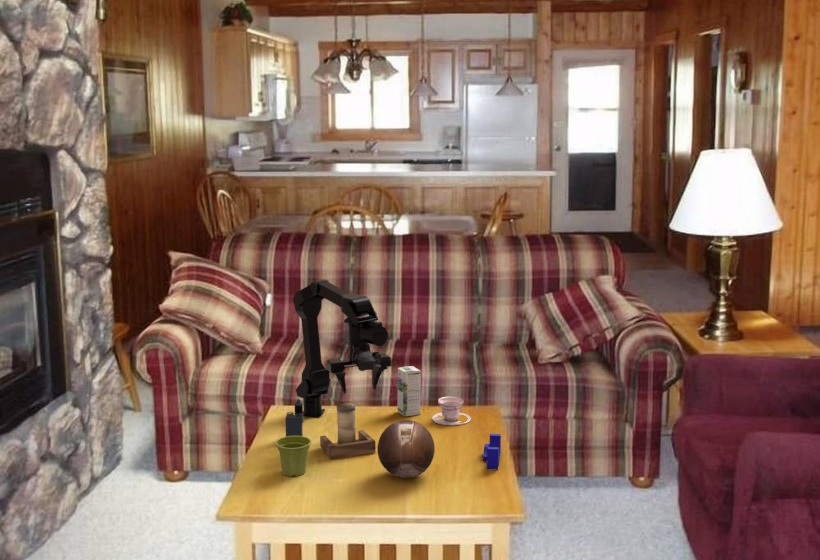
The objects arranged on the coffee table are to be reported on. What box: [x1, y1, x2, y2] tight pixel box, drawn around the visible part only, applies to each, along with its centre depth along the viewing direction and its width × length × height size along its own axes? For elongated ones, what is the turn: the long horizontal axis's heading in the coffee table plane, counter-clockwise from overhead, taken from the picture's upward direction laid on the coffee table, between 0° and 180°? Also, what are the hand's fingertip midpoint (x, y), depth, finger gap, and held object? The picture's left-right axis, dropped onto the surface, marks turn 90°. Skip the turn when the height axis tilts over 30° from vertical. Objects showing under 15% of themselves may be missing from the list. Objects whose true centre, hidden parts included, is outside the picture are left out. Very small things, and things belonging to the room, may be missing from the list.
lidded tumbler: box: [336, 402, 357, 445], centre depth 284 cm, size 5×5×12 cm
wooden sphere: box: [377, 419, 436, 479], centre depth 264 cm, size 15×15×15 cm
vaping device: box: [284, 398, 304, 437], centre depth 292 cm, size 3×5×12 cm, turn 89°
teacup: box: [431, 396, 472, 427], centre depth 309 cm, size 12×12×6 cm
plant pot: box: [275, 435, 312, 477], centre depth 268 cm, size 9×9×9 cm
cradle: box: [319, 429, 377, 460], centre depth 284 cm, size 10×13×3 cm
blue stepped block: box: [482, 433, 502, 470], centre depth 275 cm, size 12×4×6 cm, turn 172°
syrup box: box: [397, 365, 422, 417], centre depth 314 cm, size 6×6×14 cm
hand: (359, 391), depth 295 cm, fingers open, 9 cm apart
